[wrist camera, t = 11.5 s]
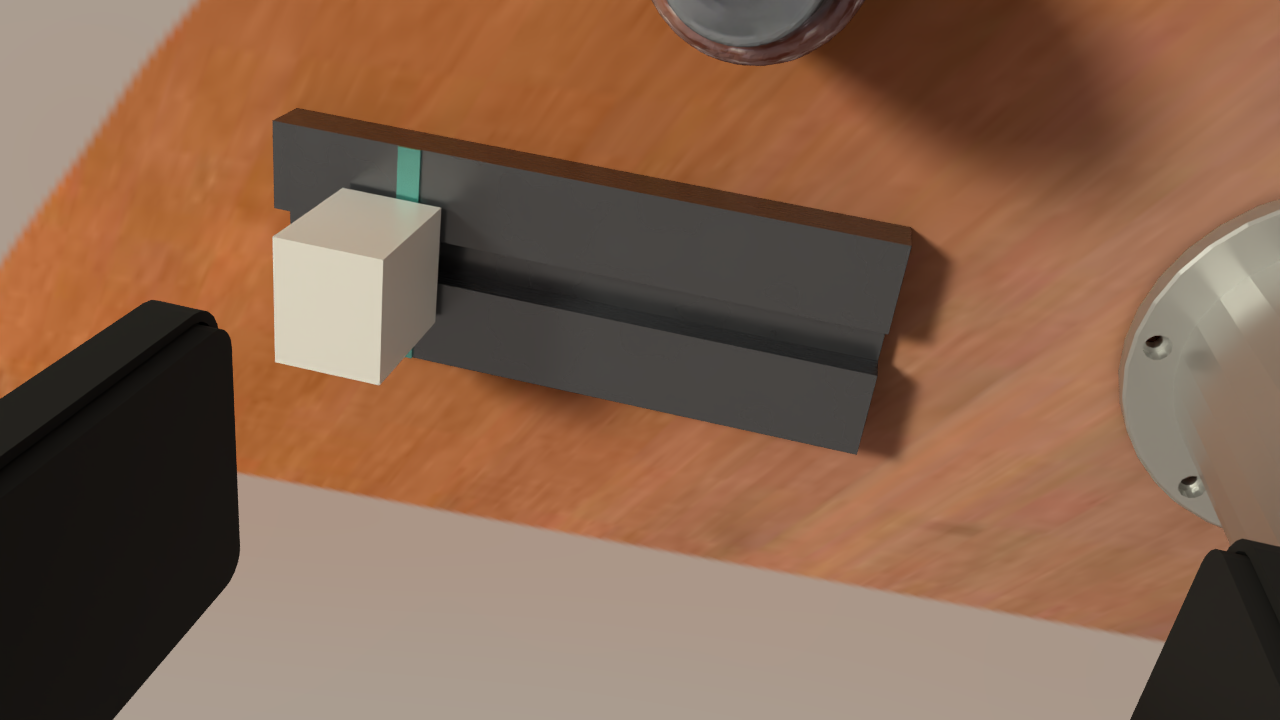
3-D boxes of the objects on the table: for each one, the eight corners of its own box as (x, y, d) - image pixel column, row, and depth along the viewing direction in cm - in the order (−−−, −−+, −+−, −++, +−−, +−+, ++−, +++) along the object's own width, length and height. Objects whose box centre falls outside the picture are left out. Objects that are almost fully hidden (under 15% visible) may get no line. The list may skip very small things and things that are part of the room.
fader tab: (453, 196, 40) (383, 259, 34) (446, 309, 42) (379, 385, 36) (357, 177, 40) (272, 236, 35) (355, 289, 42) (275, 362, 37)
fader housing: (911, 227, 38) (911, 246, 36) (858, 429, 42) (856, 456, 40) (297, 108, 41) (271, 121, 39) (298, 308, 44) (275, 328, 43)
